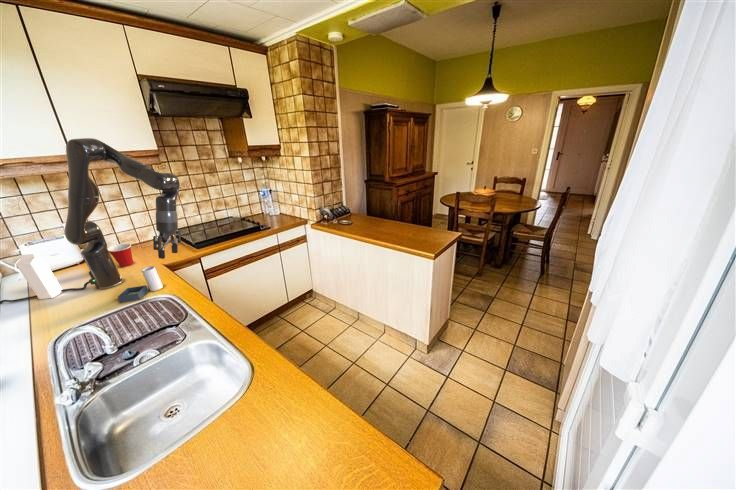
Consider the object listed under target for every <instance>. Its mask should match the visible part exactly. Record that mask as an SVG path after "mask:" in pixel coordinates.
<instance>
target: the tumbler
mask: <svg viewBox="0 0 736 490" xmlns="http://www.w3.org/2000/svg"><path fill="white" fill-rule="evenodd" d="M141 274H142V276H143V278H144V280H145V282H146V284H147V285H146V286H147V288H148V290H149V291H150V292H156V291H159V290H161V289H163V287H164V284H163V282H162V280H161V277H160V275H159V272H158V270H157V268H156V266H155V265H150V266H146V267H144V268H142V269H141Z"/></svg>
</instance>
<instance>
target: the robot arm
mask: <svg viewBox="0 0 736 490" xmlns="http://www.w3.org/2000/svg"><path fill="white" fill-rule="evenodd" d="M65 153H66V161H67V169H68V187H67V188H68V189H67V193H68V194H67V201H68V202H67V203H68V204H67V214H66V215H67V217H66V221H65V224H64V225H65V226H64V236H65V239H66V240H67V241H68V243H70V244H72V245H75V246H80V245H85V244H86V246H85V247H84V248H83V249H82V250H81V252H80V255H81V256H82V258H83V261H84V262H85V264H86V266H87V268H88V270H89V271H88V275H89V276H90V279H88V281H87V282H85V283H84V284H83V287H78V288H77V287H72V288H71V287H70V288H64V289H63V288H62V289H63V290H61V292H62V293H65V292H68V291H69V292H70V291H82V290H86V289H87V286H88V285H89V284H90V285H91V286H92V285H94V286H95V287H96V289H98V290H99V289H100V290H106V289H110V288H113V287H116V286H119V285H120V284H122V283H123V282H124V279H123V276H122V274H120V272H119V269H118V268H117V266H116V264H115V261H114V258H113V256H112V255H111V253H110V252H109V251H108V249H107V248H108V243H107V241H106V238H105V236H104V233H103V230H102V229H101V228H100V226H99V225H98V224H97V223H96V222H94V221H92V220H88V219H89V217H90V216H91V215H92V214H93V213H94V212H95V210H96V208H97V207H98V205H99V203H100V188H99V187H98V184H97V183H95V181H94V180H93V179H92V178H91V177H90V173H89V169H90V168H89V167H90V164H91V163H99V162H106V163H110V164H113V165H115V166H116V167H118V169H119V170H120V171H121V172H122V173H124V174H125V175H127V176H129V177H131V178H132V179H135V180H138V181H141V182H143V183H144V184H145V185H147V186H148V187H150V188H152V189H153V190H157V191H161V194H159V195H157V196H156V197H155V229H156V231H157V232H158V233H159V234H158V235H154V236H153V239H152V241H153V242H152V243H153V244H152V245H153V250H155V251H157V256H158V259H161V260H164V259H165V258H166V250H165V249H166V247H167V246H168V245H169V244H171V253H172V254H178V252H179V251H178V250H179V249H178V248H179V247H178V246H179V244H181V243H182V239H181V236H182V235H181V230H179V223H178V211H177V198H178V196H179V191H180V179H179V178H178V176H177V175H176V174H174V173H171V172H159V171H156V170H155V168H153V167H152V166H151V165H148V164H145V163H144V162H141V161H138V160H136V159H133V158H131V157H130V156H127V155H125V153H122V152H121V151H119V150H117V149H115V148H113V147H112V146H110V145H109V144H106V143H105V142H103V141H101V140H99V139H97V138H94V137H93V138H92V137H87V138H86V137H85V138H82V137H81V138H71V139H69V140H68V141H67V142H66V145H65ZM36 298H38V297H37V295H36V294H35V295H31V296H27V297H22V298H16V299H2V300H0V305H2V304H3V303H17V302H22V301H26V300H30V299H36Z"/></svg>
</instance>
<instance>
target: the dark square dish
mask: <svg viewBox="0 0 736 490" xmlns="http://www.w3.org/2000/svg"><path fill="white" fill-rule="evenodd" d="M149 291H150V289H149V287H148V285H146V284H145V285H138V286H132V287H127V288H125V290H123V291H122V292H121V293H120V294H119V295H118V296H117V299H118V301H119V303H126V302H128V303H129V302H132V301H133V302H134V301H139V300H141V299H142V298H143V297H144V296H145V295H147V293H148V292H149Z"/></svg>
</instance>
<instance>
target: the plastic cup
mask: <svg viewBox="0 0 736 490" xmlns="http://www.w3.org/2000/svg"><path fill="white" fill-rule="evenodd" d="M107 249H108V251H109V253H110V255H111V257H112V258H113V259H114V260H115V261H116V263H118V265H119V266H120V268H124V267H125V268H126V267H130V266H132V265H133V264H134V260H133V254H132V244H131V243H129V242H127V243H126V242H125V243H118V244H114V245H111V246H109V247H107Z"/></svg>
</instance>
